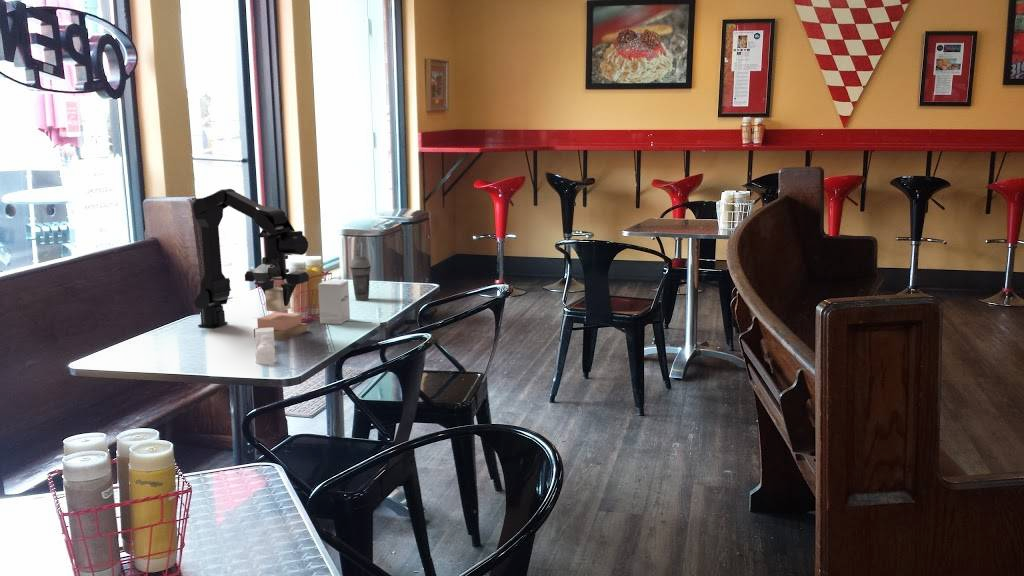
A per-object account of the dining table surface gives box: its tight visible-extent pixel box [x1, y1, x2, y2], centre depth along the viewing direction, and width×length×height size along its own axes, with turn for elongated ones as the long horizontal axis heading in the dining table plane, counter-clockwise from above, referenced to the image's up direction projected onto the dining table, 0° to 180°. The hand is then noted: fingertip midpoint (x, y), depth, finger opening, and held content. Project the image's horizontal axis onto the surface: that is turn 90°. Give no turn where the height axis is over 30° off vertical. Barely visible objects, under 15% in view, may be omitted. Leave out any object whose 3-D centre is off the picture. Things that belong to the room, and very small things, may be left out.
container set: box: [254, 327, 277, 365], centre depth 241 cm, size 20×5×6 cm, turn 16°
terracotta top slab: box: [256, 311, 302, 331], centre depth 264 cm, size 9×9×3 cm
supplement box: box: [317, 279, 351, 325], centre depth 278 cm, size 7×7×13 cm
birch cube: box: [264, 287, 292, 313], centre depth 262 cm, size 5×5×6 cm
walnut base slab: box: [253, 322, 308, 341], centre depth 264 cm, size 11×11×3 cm
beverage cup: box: [349, 242, 372, 302], centre depth 310 cm, size 7×7×20 cm
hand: (278, 305), depth 263 cm, fingers closed on birch cube, 5 cm apart
